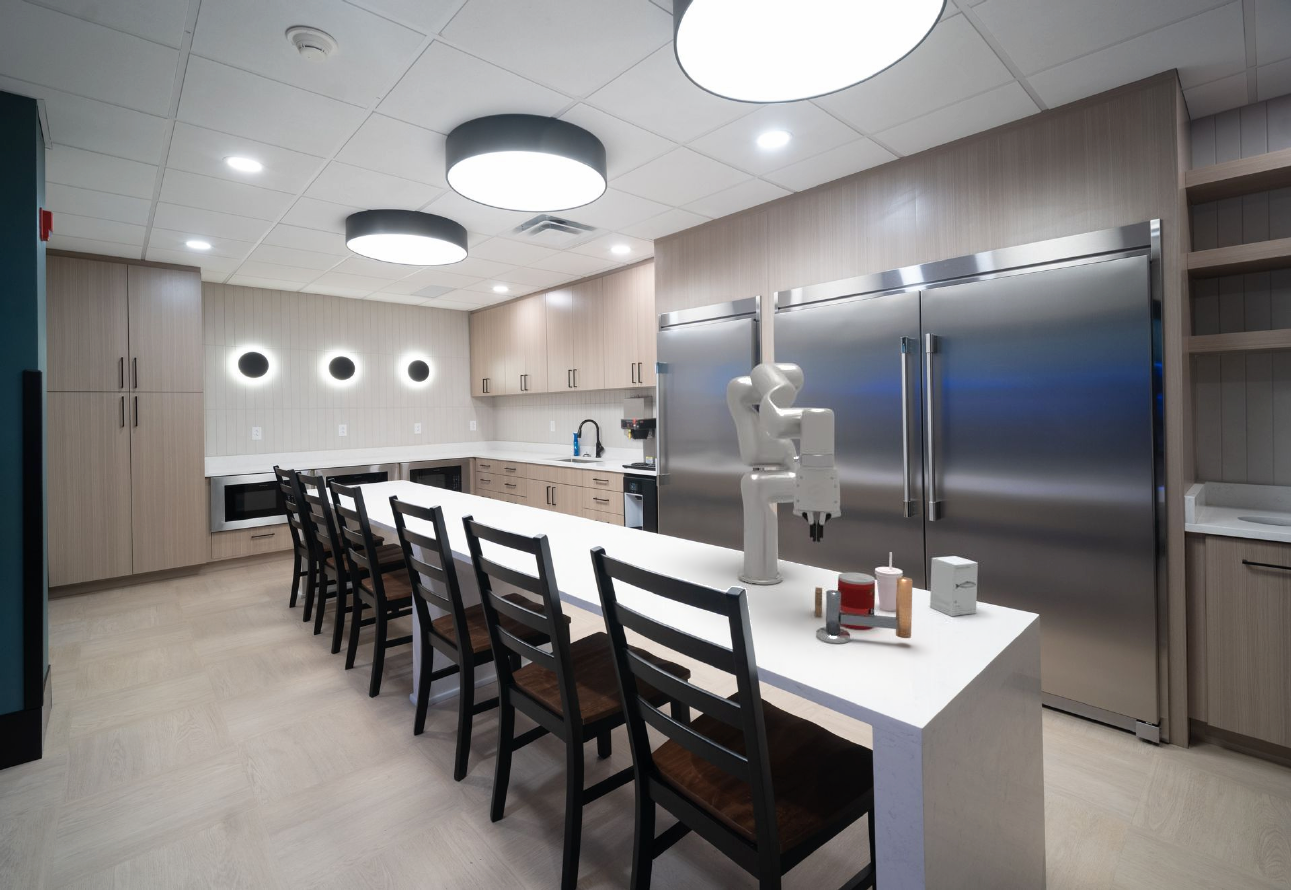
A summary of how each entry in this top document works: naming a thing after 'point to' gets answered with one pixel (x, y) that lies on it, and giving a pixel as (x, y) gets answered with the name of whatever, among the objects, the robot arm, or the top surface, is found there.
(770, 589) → the top surface
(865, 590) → the canned food
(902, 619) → the double handled crank lever
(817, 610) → the brown wooden block
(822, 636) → the pivot base
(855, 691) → the top surface
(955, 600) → the supplement box
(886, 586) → the smoothie
